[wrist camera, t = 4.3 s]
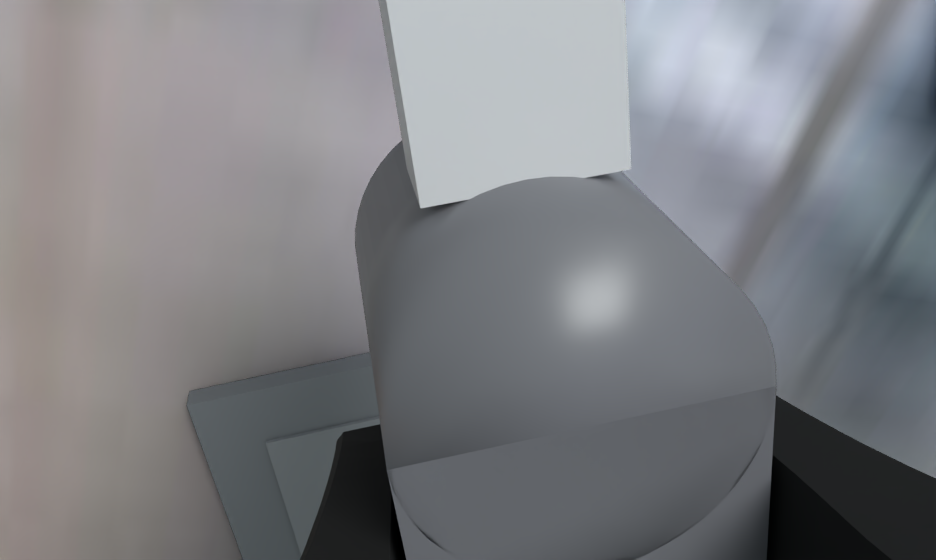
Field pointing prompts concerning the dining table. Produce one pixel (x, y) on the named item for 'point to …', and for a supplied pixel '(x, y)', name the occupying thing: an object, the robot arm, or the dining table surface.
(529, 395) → the plug
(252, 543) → the coaster
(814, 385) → the dining table surface
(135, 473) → the dining table surface
